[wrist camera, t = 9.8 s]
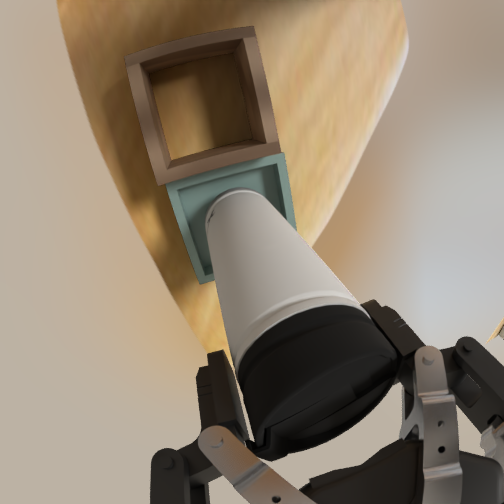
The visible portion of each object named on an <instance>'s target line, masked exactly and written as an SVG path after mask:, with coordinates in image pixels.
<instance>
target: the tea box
mask: <svg viewBox="0 0 504 504" xmlns="http://www.w3.org/2000/svg"><path fill="white" fill-rule="evenodd" d="M499 335H500V336H501V337H502V338H503V339H504V326H503V328H502V330H501V331H500V333H499Z"/></svg>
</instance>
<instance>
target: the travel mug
mask: <svg viewBox="0 0 504 504" xmlns="http://www.w3.org/2000/svg"><path fill="white" fill-rule="evenodd" d="M205 229H206V235H207V240H208V246H209V251H210V257H211V262H212V267H213V272H214V277H215V282H216V288H217V292H218V297H219V302H220V307H221V312H222V317H223V321H224V326H225V330H226V335H227V339H228V344H229V348H230V353H231V357H232V361H233V365H234V367H235V374H236V378H237V381H238V383H239V386H240V389H241V391H242V394H243V401H244V404H245V408H246V411H247V414H248V418H249V422H250V425H251V430H252V433H253V436H254V441H255V442H253V441H251V440H249V439H247V440H245V443H246V447H247V448H248V449H249V450H250V451H251V452H252V453H253V454H254V455H255V456H256V457H259V458H261V459H265V460H267V461H271V462H272V461H274V460H277V459H280V458H283V457H285V456H287V454H289V453H295V452H300V451H304V450H307V449H310V448H313V447H316V446H318V445H321V444H323V443H325V442H328V441H329V440H331V439H333V438H335V437H337V436H339V435H341V434H342V433H344V432H345V431H347V430H349V429H350V428H351V427H353V426H354V425H356V424H357V423H358V422H360V421H361V420H362V419H363V418H364V417H366V415H368V414H369V413H370V412H371V411H372V410H373V409H374V408H375V407H376V406H377V405H378V404H379V403H380V401H381V400H382V399H383V398H384V397H385V396H386V394H387V393H388V391H389V390H390V388H391V387H392V385H393V383H394V380H395V377H396V375H397V374H396V372H395V371H394V369H395V368H396V366H397V354H396V351H395V350H394V348H393V347H392V346H391V344H390V343H389V342H388V340H387V339H386V338H385V337H384V335H383V334H382V333H381V332H380V331H379V330H378V329H377V328H376V326H375V324H374V323H373V322H372V320H371V318H370V316H369V315H368V313H367V312H366V311H365V310H364V309H363V308H362V307H361V306H360V304H359V303H358V301H357V300H356V299H355V298H354V297H353V295H352V294H351V293H350V292H349V291H348V289H347V288H346V287H345V286H344V285H343V284H342V282H341V281H340V280H339V279H338V278H337V277H336V275H335V274H334V273H333V272H332V271H331V270H330V268H329V267H328V266H327V265H326V264H325V263H324V262H323V260H321V258H320V257H319V256H318V255H317V254H316V252H315V251H314V250H313V249H312V248H311V247H310V246H309V245H308V244H307V242H306V241H305V240H304V239H303V238H302V237H301V236H300V235H299V234H298V232H297V231H296V230H295V229H294V228H293V227H292V226H291V225H290V224H289V223H288V222H287V220H286V219H285V218H284V217H283V216H282V215H281V214H280V213H279V212H278V211H277V210H276V209H275V208H274V207H273V205H272V204H271V203H270V202H269V201H268V200H267V199H266V198H265V197H264V196H263V195H262V194H261V193H259V192H257V191H256V190H253V189H250V188H245V187H236V188H232V189H228V190H226V191H224V192H222V193H220V194H219V195H218V196H216V197H215V198H214V200H213V201H212V202H211V203H210V205H209V207H208V209H207V211H206V215H205Z"/></svg>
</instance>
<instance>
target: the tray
mask: <svg viewBox="0 0 504 504" xmlns="http://www.w3.org/2000/svg"><path fill="white" fill-rule="evenodd" d="M165 185H166V188H167V192H168V195H169V198H170V201H171V204H172V207H173V210H174V213H175V216H176V219H177V222H178V225H179V228H180V231H181V234H182V237H183V240H184V243H185V245H186V248H187V251H188V254H189V257H190V259H191V262H192V265H193V268H194V270H195V273H196V276H197V278H198V281H199V284H204V283H207V282H211V281H214V280H215V277H214V272H213V267H212V262H211V257H210V251H209V246H208V240H207V235H206V229H205V215H206V211H207V209H208V207H209V205H210V203H211V202H212V201H213V200H214V198H215V197H216V196H218V195H219V194H220V193H222V192H224V191H226V190H228V189H232V188H236V187H245V188H250V189H253V190H256V191H257V192H259V193H261V194H262V195H263V196H264V197H265V198H266V199H267V200H268V201H269V202H270V203H271V204H272V205H273V207H274V208H275V209H276V210H277V211H278V212H279V213H280V214H281V215H282V216H283V217H284V218H285V219H286V220H287V222H288V223H289V224H290V225H291V226H292V227H293V228H294V229H295V230H296V231H297V229H296V222H295V215H294V208H293V202H292V196H291V189H290V183H289V177H288V172H287V166H286V160H285V154H284V153H283V152H281V153H280V154H275V155H270V156H266V157H261V158H257V159H253V160H249V161H244V162H240V163H236V164H232V165H228V166H225V167H221V168H217V169H213V170H210V171H206V172H203V173H199V174H196V175H192V176H189V177H185V178H182V179H179V180H175V181H172V182H169V183H166V184H165Z"/></svg>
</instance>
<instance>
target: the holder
mask: <svg viewBox="0 0 504 504" xmlns="http://www.w3.org/2000/svg"><path fill="white" fill-rule="evenodd" d="M229 53H234V58H235V62H236V66H237V70H238V75H239V79H240V83H241V88H242V92H243V97H244V101H245V105H246V110H247V115H248V119H249V124H250V128H251V133H252V138H253V139H250V140H246V141H242V142H237V143H233V144H229V145H225V146H221V147H217V148H213V149H210V150H206V151H202V152H199V153H195V154H191V155H188V156H185V157H181V158H178V159H175V160H172V161H171V158H170V154H169V151H168V147H167V144H166V140H165V136H164V133H163V129H162V125H161V121H160V117H159V114H158V110H157V106H156V102H155V98H154V93H153V89H152V85H151V81H150V77H149V73H152V72H155V71H158V70H161V69H165V68H168V67H172V66H175V65H179V64H183V63H187V62H191V61H195V60H199V59H203V58H208V57H213V56H218V55H223V54H229ZM124 59H125V64H126V69H127V73H128V78H129V82H130V87H131V91H132V95H133V99H134V103H135V107H136V111H137V115H138V119H139V123H140V126H141V130H142V134H143V137H144V141H145V145H146V148H147V151H148V155H149V158H150V162H151V165H152V168H153V172H154V175H155V178H156V181H157V185H158V186H160V185H163V184H166V183H169V182H172V181H175V180H179V179H182V178H185V177H189V176H192V175H196V174H199V173H203V172H206V171H210V170H213V169H217V168H221V167H225V166H228V165H232V164H236V163H240V162H244V161H249V160H253V159H257V158H261V157H266V156H270V155H275V154H280V153H281V149H280V144H279V138H278V133H277V128H276V123H275V118H274V113H273V108H272V103H271V99H270V94H269V89H268V85H267V80H266V76H265V71H264V67H263V63H262V58H261V54H260V50H259V46H258V42H257V38H256V34H255V30H254V26H249V27H240V28H233V29H226V30H220V31H215V32H209V33H204V34H199V35H195V36H190V37H186V38H182V39H178V40H174V41H170V42H167V43H163V44H160V45H156V46H153V47H150V48H147V49H144V50H141V51H138V52H135V53H132V54H129V55H127V56H124Z"/></svg>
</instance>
